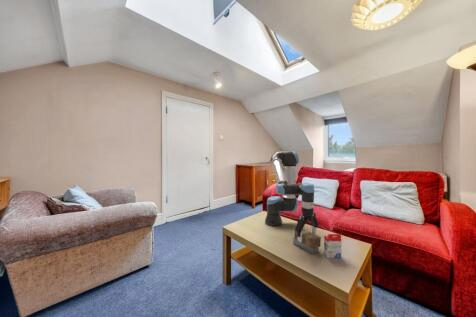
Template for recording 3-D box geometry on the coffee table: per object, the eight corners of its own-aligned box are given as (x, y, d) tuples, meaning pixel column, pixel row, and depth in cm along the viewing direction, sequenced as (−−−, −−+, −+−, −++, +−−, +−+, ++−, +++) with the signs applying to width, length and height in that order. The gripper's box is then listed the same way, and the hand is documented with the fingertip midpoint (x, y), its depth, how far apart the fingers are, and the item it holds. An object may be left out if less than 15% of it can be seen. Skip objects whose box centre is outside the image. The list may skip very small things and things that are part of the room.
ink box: (336, 253, 114) (337, 230, 113) (341, 257, 109) (341, 234, 108) (323, 253, 113) (323, 230, 113) (327, 258, 108) (328, 234, 108)
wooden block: (294, 239, 124) (294, 230, 123) (301, 236, 127) (301, 228, 127) (313, 249, 111) (313, 239, 110) (320, 246, 114) (320, 237, 114)
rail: (293, 243, 126) (293, 232, 125) (299, 241, 129) (299, 231, 128) (312, 254, 112) (312, 243, 111) (318, 252, 115) (318, 240, 114)
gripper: (298, 212, 109) (298, 246, 110) (324, 205, 121) (323, 236, 122) (289, 208, 115) (289, 240, 116) (315, 203, 127) (314, 232, 128)
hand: (306, 238), depth 119 cm, fingers open, 13 cm apart
